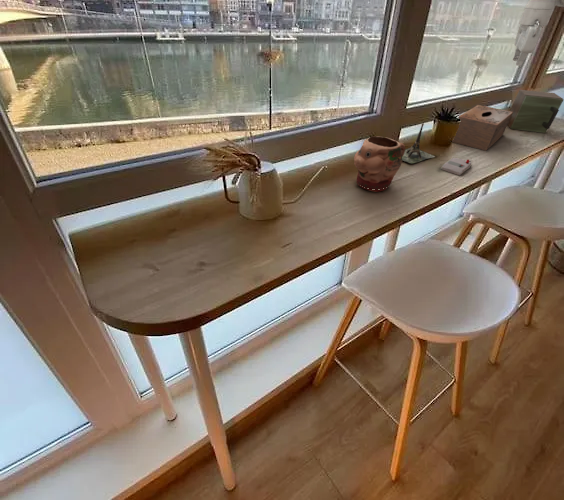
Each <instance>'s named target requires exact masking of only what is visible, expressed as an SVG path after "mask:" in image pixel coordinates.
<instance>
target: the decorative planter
mask: <svg viewBox="0 0 564 500" xmlns="http://www.w3.org/2000/svg"><path fill="white" fill-rule="evenodd" d="M405 149H406V145H405V144H404V143H402V142H399V141H398V140H395V139H392V138H391V137H385V136H375V135H372V136H369V137H368V138H366V139H364V141H363V143H362V145H361V147H360V148H359V150H357V152H355V154H354V156H353V157H354V158H353V164H354V166H355V168H356V169H357V176H356V184H357V185H358V186H359V187H360V188H362V189H364V190H367V191H369V192H374V193H375V192H382V191H386V190H387V189H388V188H389V187H390V185H391V184H392V181H393V180H394V178H395V176H396V174H397V172H398V171H399V170H400V169H401V166H402V163H403V160H402V157H403V155H404V153H405ZM360 185H361V186H360ZM362 186H363V187H362ZM388 186H389V187H388ZM364 187H365V188H364ZM386 187H387V188H386ZM367 188H369V189H367ZM383 188H384V189H383ZM372 189H375V190H372ZM378 189H380V190H378Z"/></svg>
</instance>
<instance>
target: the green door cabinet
mask: <svg viewBox="0 0 564 500" xmlns="http://www.w3.org/2000/svg"><path fill="white" fill-rule="evenodd" d="M525 96H535V97H546V98H556V99H564V98H563V97H562V96H560V95H558V94H557V93H555V92H549V91H540V90H539V91H537V90H527V89H519V90H518V92H517V94H516V95H515V99H514V100H513V103H512V105H511V107H510V109H509V111H511V112H513V114H512V116H511V118H510V120H509V123H508V125H507V126H508V128H509V129H511V126H512V124H513V122H514V120H515V118H516V115H517V113H518V111H519V109H520V107H521V105H522V103H523V101H524V98H525Z"/></svg>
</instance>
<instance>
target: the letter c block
mask: <svg viewBox="0 0 564 500" xmlns="http://www.w3.org/2000/svg"><path fill="white" fill-rule="evenodd" d="M563 102H564V98H563V99H556V98H546V97H535V96H525V98H524V101H523V103H522V105H521V107H520V109H519V111H518V113H517V115H516V118H515V120H514V122H513V124H512V126H511V128H510V129H511V130H518V131H527V132H536V133H544V134H546V133H547V132H548V130H550V128H551V126H552V124H553V123H554V121H555V119H556V117H557V115H558V113H559V111H560V108H561V105H562V104H563Z"/></svg>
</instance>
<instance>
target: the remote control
mask: <svg viewBox="0 0 564 500" xmlns="http://www.w3.org/2000/svg"><path fill="white" fill-rule="evenodd" d="M472 164H473V163H472V159H463V158H458V157H452V158H450V159H449V160H448V161H446V162H445V163H443V164H442V165H441V168H440V170H442V171H444V172H448V173H451V174H454V175H457V176H461V175H462V174H464V173H465V172H466V171H467V170H469V169H470V168H471V166H472Z"/></svg>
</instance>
